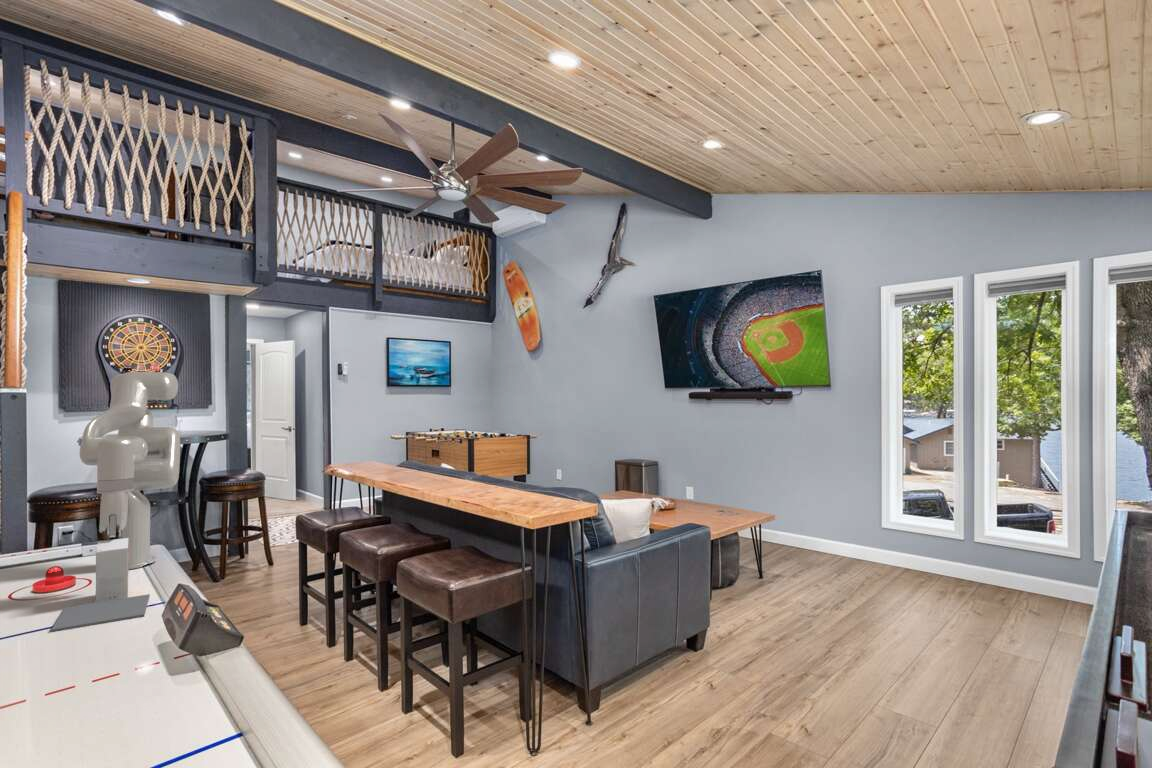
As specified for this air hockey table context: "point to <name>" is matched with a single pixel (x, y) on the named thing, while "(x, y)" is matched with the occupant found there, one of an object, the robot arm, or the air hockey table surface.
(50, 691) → the air hockey table surface
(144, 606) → the mat
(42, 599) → the air hockey table surface
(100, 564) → the small box
